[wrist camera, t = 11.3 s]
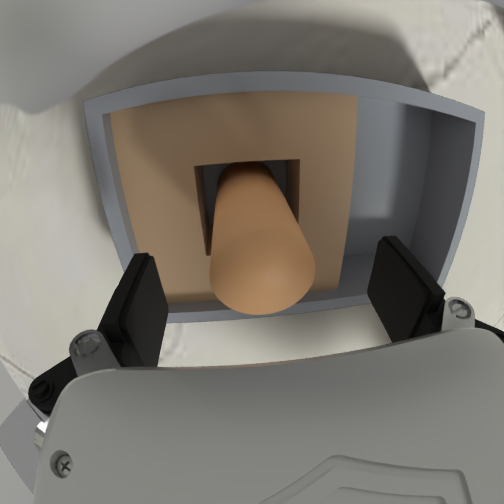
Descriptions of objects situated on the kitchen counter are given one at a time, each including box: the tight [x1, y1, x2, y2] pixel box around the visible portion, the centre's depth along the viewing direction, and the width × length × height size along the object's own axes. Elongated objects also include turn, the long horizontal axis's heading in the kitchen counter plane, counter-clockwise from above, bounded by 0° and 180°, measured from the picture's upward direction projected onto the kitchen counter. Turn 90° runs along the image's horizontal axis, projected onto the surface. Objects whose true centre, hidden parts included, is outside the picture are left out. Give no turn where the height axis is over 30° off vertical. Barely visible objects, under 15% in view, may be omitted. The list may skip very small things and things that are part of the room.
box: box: [83, 71, 485, 323], centre depth 17 cm, size 24×15×6 cm, turn 92°
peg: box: [209, 161, 316, 315], centre depth 14 cm, size 4×4×10 cm
